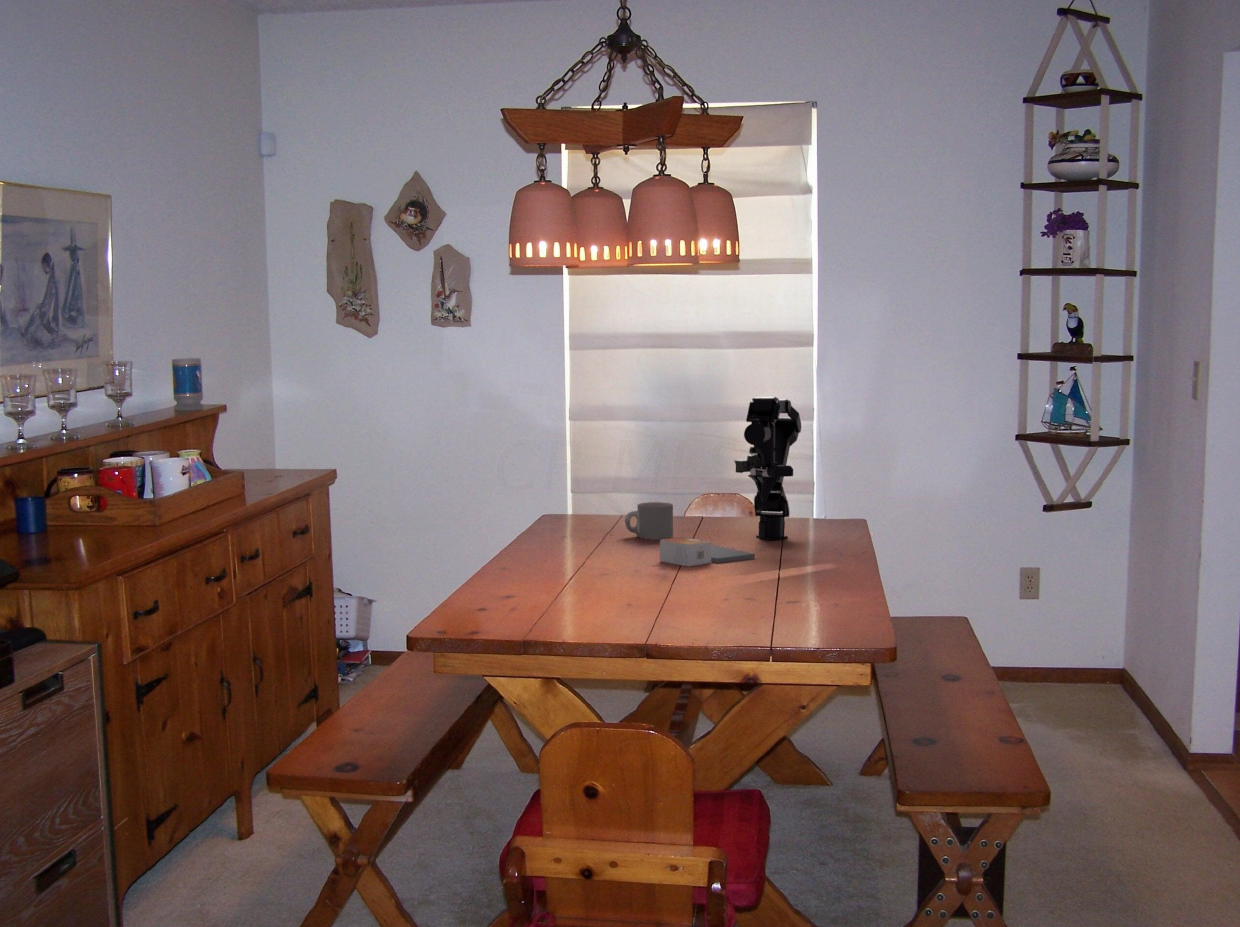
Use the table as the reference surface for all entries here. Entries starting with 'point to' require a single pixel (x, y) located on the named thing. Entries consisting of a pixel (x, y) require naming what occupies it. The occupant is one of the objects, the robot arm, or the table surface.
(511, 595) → the table surface
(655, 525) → the coffee mug
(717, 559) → the mat
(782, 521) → the robot arm
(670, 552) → the small box
